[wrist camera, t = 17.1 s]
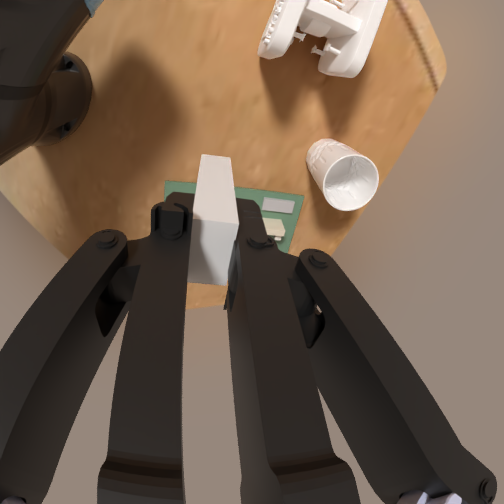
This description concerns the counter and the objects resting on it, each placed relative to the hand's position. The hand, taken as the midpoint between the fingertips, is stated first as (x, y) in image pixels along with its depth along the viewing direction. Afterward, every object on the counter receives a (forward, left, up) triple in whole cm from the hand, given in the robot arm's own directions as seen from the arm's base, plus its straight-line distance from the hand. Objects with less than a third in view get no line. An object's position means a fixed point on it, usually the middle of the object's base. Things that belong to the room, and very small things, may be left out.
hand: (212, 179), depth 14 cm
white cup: (+17, -4, -26) cm, 31 cm away
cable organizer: (+9, +16, -26) cm, 32 cm away
